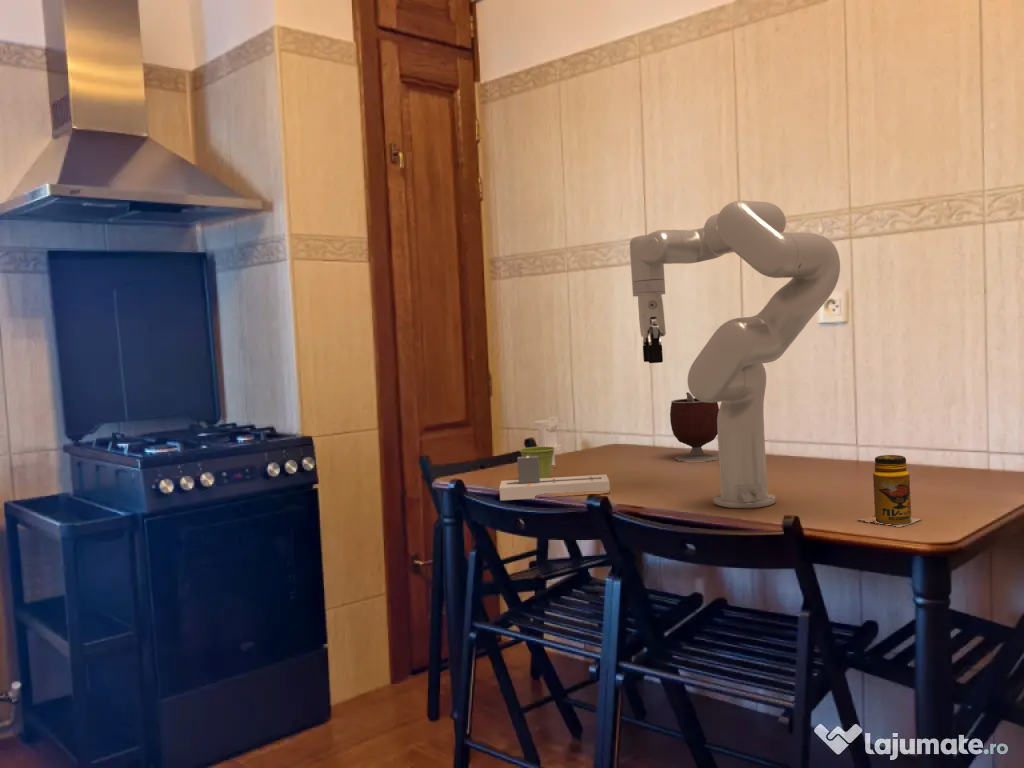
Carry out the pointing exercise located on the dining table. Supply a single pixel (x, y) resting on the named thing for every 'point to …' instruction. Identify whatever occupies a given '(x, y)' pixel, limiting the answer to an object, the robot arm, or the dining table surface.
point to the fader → (528, 469)
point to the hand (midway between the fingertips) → (653, 362)
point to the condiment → (892, 491)
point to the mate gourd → (694, 426)
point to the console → (552, 486)
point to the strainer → (549, 434)
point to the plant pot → (541, 458)
